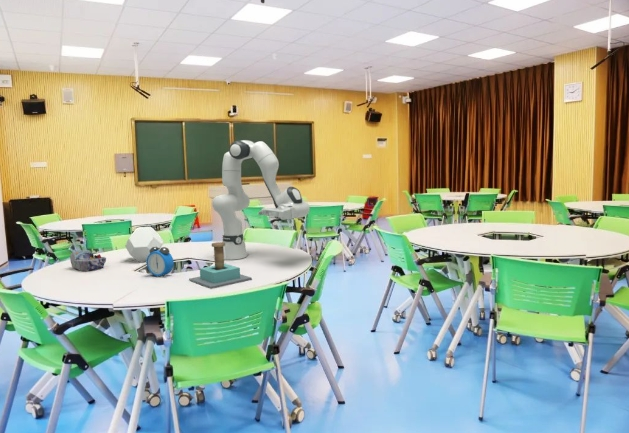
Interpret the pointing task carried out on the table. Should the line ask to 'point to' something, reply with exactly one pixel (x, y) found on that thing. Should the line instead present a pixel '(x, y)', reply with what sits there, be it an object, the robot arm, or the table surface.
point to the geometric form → (143, 242)
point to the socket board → (211, 285)
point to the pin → (218, 255)
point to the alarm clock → (159, 261)
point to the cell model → (86, 260)
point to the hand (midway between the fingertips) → (263, 213)
